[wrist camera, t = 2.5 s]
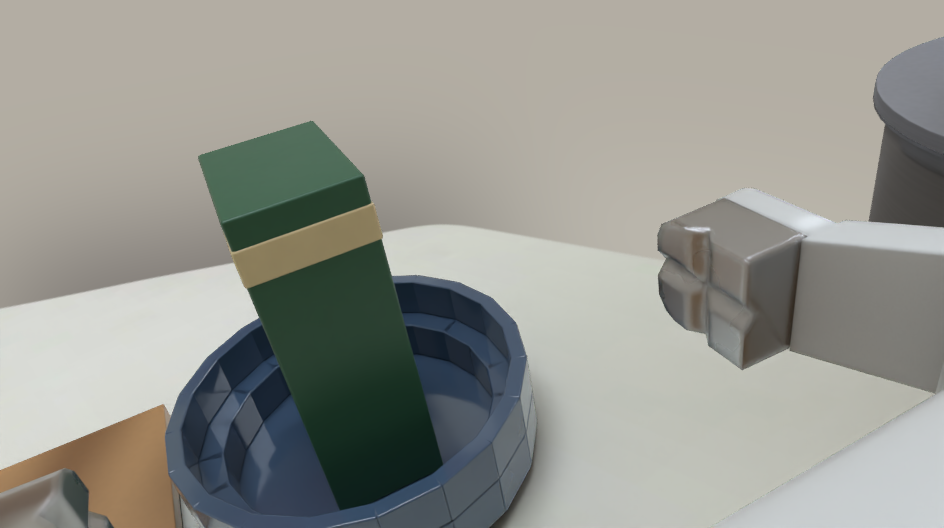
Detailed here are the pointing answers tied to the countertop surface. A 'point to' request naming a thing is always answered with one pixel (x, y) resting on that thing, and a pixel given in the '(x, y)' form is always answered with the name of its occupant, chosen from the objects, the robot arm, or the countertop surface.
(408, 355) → the tea packet
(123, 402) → the countertop surface
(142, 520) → the cork mat
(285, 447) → the bowl
